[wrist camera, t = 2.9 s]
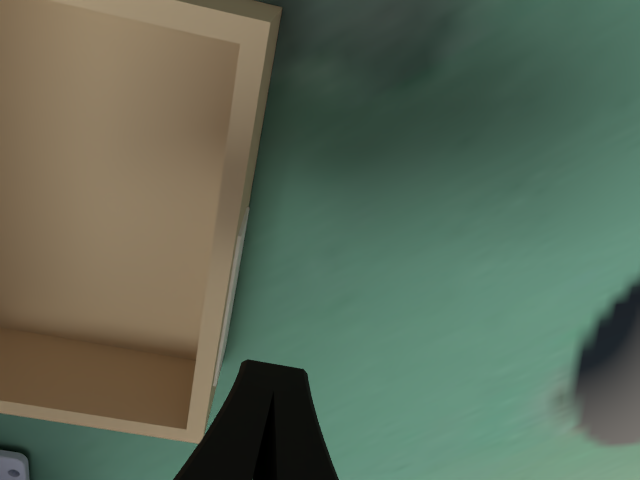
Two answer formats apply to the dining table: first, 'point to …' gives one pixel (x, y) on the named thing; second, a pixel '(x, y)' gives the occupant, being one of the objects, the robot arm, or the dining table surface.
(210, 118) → the box
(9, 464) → the robot arm
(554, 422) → the dining table surface
